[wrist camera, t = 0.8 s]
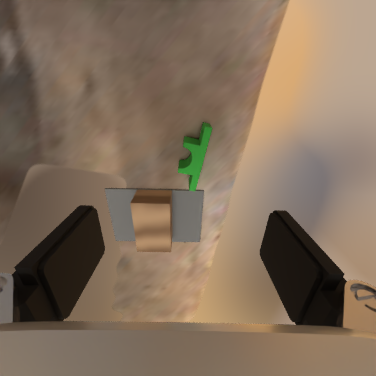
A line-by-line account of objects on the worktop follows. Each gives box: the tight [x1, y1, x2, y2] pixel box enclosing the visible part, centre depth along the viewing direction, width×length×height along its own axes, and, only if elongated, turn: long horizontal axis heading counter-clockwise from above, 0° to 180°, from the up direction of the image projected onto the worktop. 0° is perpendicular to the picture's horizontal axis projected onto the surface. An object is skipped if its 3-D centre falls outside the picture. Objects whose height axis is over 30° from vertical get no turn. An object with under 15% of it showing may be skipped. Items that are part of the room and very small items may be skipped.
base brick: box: [130, 190, 173, 252], centre depth 37 cm, size 12×7×5 cm, turn 178°
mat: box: [105, 188, 204, 242], centre depth 40 cm, size 14×20×1 cm
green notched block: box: [178, 122, 212, 191], centre depth 31 cm, size 11×4×5 cm, turn 168°
